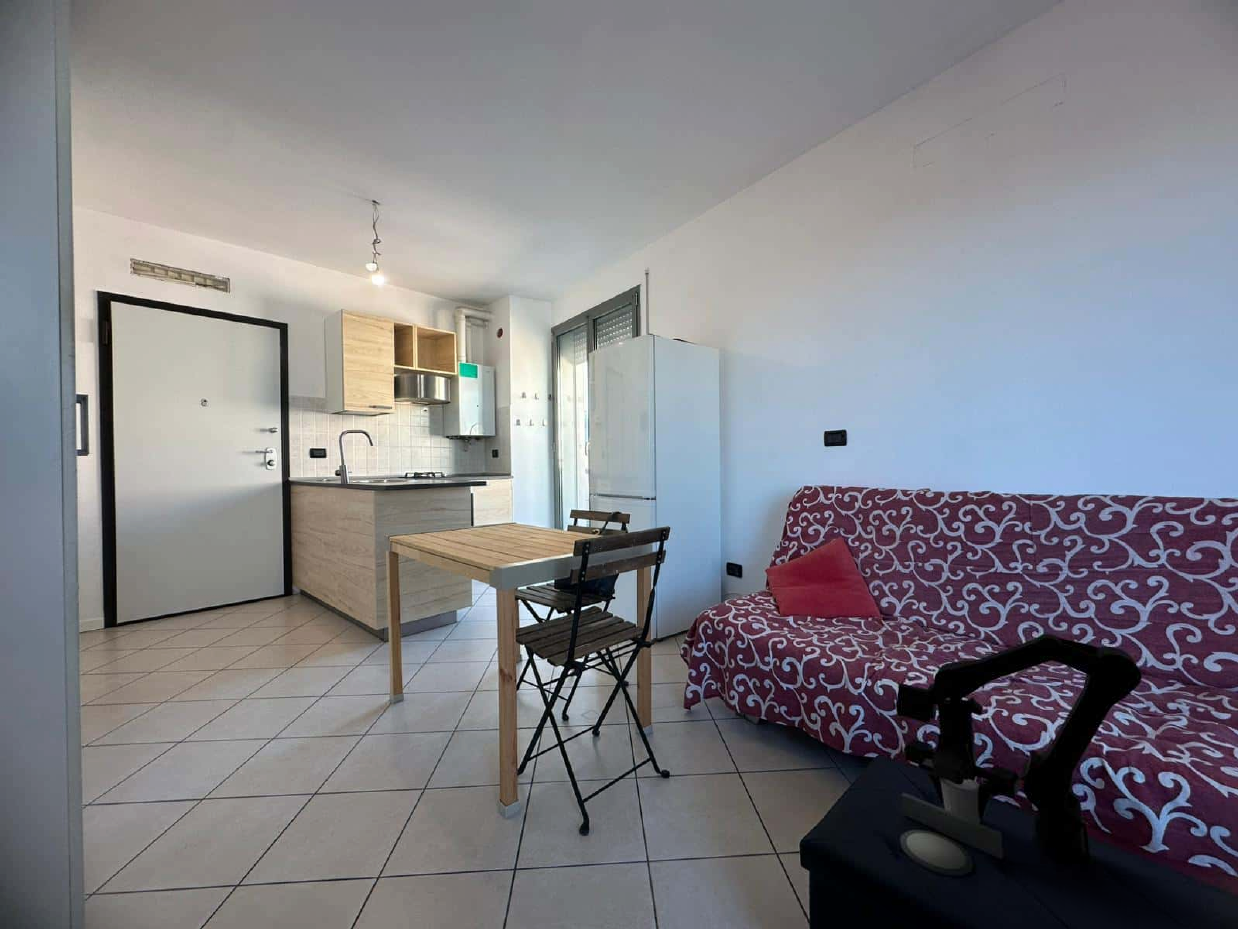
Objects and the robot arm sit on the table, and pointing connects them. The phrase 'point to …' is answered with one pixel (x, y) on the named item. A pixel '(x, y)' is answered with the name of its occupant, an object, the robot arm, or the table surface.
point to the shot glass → (962, 798)
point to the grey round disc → (936, 853)
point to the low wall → (953, 825)
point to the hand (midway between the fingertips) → (962, 810)
